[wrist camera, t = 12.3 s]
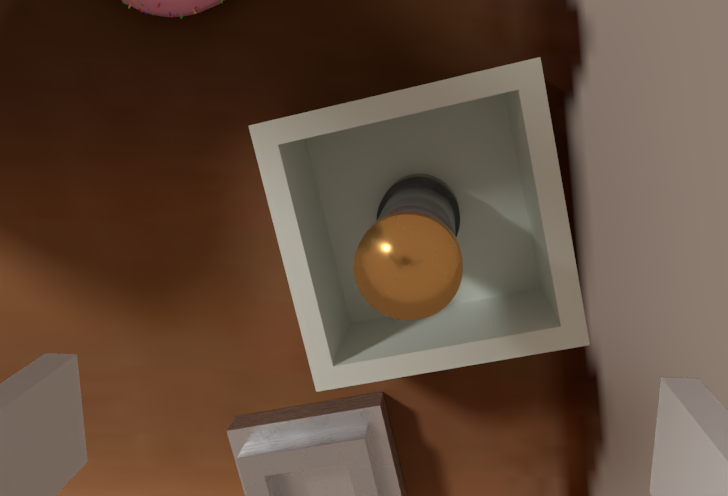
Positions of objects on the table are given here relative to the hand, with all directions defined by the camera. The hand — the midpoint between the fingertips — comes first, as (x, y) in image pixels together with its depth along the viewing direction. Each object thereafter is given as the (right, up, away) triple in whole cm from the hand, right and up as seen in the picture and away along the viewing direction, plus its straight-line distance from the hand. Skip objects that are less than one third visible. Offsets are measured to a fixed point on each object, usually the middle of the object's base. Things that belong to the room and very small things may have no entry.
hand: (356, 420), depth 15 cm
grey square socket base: (-2, -11, +30) cm, 32 cm away
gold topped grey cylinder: (+3, +6, +25) cm, 26 cm away
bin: (+4, +6, +26) cm, 27 cm away
